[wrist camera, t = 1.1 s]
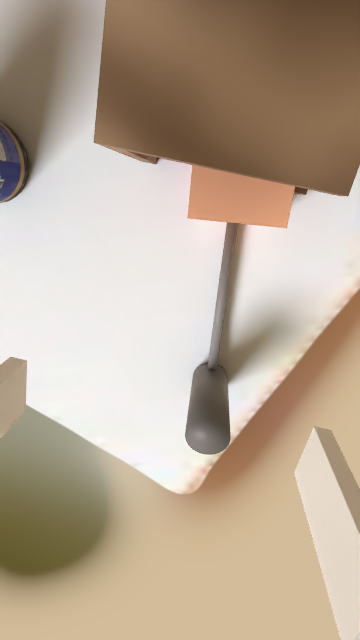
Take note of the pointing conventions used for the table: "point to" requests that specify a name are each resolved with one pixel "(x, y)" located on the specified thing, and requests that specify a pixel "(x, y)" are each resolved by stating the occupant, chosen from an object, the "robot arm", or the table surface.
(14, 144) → the pill bottle
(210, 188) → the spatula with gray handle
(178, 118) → the shelf
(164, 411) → the table surface
